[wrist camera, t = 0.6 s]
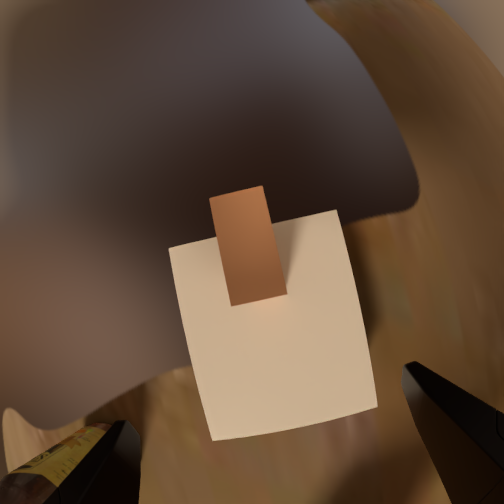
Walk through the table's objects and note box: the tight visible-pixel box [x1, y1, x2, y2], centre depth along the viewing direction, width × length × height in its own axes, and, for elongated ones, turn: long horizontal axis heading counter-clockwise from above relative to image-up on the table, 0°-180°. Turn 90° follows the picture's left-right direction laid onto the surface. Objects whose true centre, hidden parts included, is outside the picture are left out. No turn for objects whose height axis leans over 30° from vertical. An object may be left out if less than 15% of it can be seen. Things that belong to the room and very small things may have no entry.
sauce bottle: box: [0, 423, 112, 504], centre depth 13 cm, size 6×6×20 cm
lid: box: [169, 186, 378, 441], centre depth 15 cm, size 12×10×8 cm
